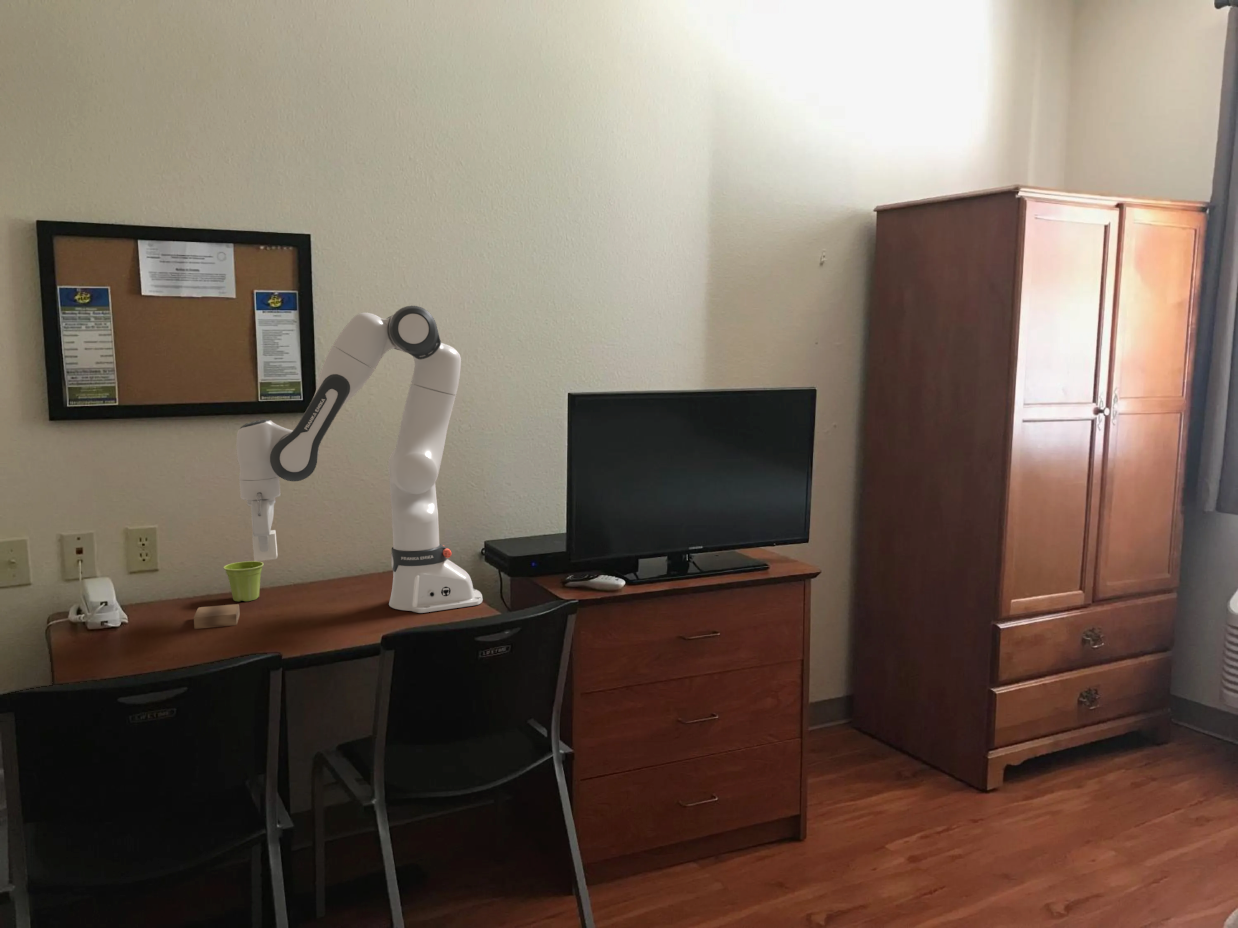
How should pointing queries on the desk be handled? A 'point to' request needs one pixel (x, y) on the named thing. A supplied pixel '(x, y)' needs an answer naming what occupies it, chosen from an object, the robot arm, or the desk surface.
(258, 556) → the white block
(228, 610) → the walnut slab
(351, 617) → the desk surface
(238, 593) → the plant pot
